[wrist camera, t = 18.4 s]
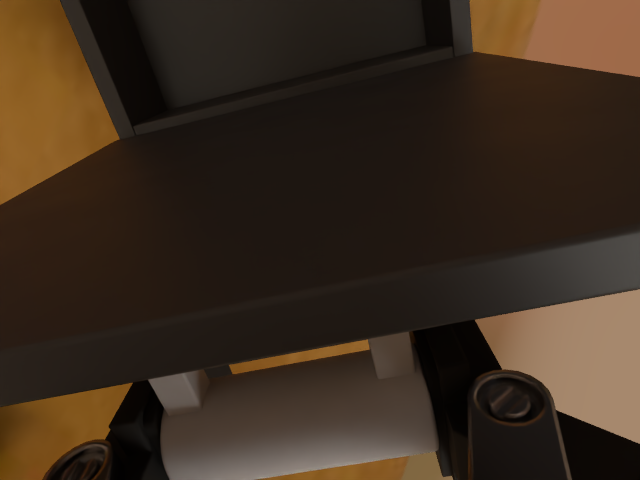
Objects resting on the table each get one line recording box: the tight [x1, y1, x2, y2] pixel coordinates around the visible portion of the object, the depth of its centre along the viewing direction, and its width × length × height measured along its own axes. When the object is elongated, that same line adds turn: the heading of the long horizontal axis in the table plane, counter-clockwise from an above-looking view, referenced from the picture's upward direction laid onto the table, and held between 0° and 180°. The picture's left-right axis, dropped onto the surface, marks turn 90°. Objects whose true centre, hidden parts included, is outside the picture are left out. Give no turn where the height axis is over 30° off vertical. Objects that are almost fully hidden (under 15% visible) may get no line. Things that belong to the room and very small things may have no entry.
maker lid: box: [0, 52, 640, 480], centre depth 12 cm, size 15×16×5 cm
